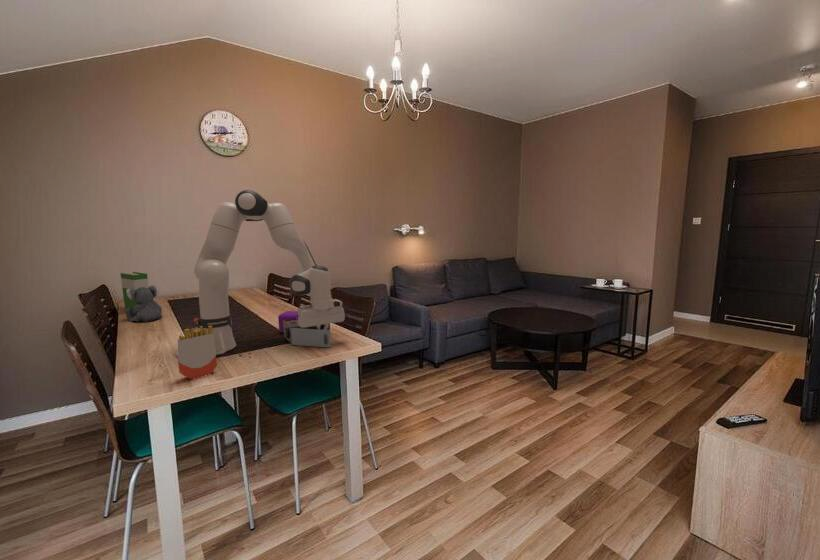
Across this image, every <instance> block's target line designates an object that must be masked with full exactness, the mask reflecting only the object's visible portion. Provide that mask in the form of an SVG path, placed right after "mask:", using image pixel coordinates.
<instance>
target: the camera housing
mask: <svg viewBox="0 0 820 560" xmlns="http://www.w3.org/2000/svg"><path fill="white" fill-rule="evenodd" d="M320 326H321V327H319V328H320V330H323V329H324V327H325V326H324V325H320ZM290 328H301V327H300V326H299V325H298V320H294V321H287V322H285V328H284V333H283V334H284V338H285V339H286V341H288V342H289V343H290V344H291V332H290ZM301 329H317V328H316V326H311V327H305V328H301ZM327 330H330V331H331V323H330V324H329V326H328V328H327ZM330 337H331V335H330ZM331 338H332V337H331Z"/></svg>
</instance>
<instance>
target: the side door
mask: <svg viewBox="0 0 820 560" xmlns="http://www.w3.org/2000/svg"><path fill="white" fill-rule="evenodd" d="M290 332H291V343H290V345H291V346H305V347H318V348H319V347H320V348H331V347H332V346H331V338H330V336H331V329H330V330H318V329H301V328H290Z"/></svg>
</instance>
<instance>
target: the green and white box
mask: <svg viewBox="0 0 820 560" xmlns="http://www.w3.org/2000/svg"><path fill="white" fill-rule="evenodd" d="M120 281H121V288H122V289H121V290H122V296H123V303H124V304H123V305H124V311H125V310H127V309H128V308H132V309H133V308H134V306H135V305H138V304H137V303H136V302H135V301H134V300H131V299H130V298H128V295H127V293H126V290H127V289H135V290H136V289H138V288H139V287H146V288H148V287H150V286H149V278H148V273H144V272H143V273H142V272H136V271H132V272H131V273H124V272H122V273H121V272H120Z"/></svg>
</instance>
